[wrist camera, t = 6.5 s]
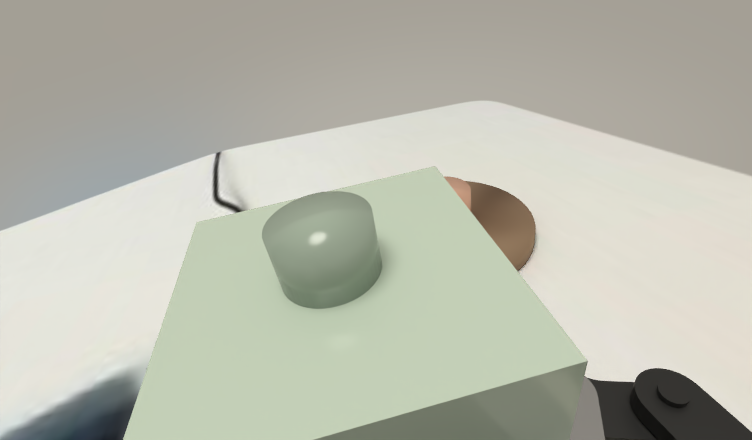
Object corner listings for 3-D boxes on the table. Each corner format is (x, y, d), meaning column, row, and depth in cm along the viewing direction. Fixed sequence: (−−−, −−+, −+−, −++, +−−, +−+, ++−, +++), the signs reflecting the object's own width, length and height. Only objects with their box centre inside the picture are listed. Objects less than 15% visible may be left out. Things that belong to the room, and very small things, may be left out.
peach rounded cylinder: (402, 228, 25) (398, 196, 24) (437, 202, 27) (435, 171, 26) (448, 248, 23) (445, 214, 22) (483, 218, 25) (482, 185, 24)
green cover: (535, 586, 11) (602, 297, 5) (307, 661, 10) (40, 452, 4) (452, 384, 16) (432, 123, 10) (298, 427, 16) (176, 181, 9)
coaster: (325, 247, 26) (323, 238, 26) (430, 176, 32) (429, 168, 32) (464, 328, 19) (464, 317, 19) (567, 218, 25) (568, 208, 24)
